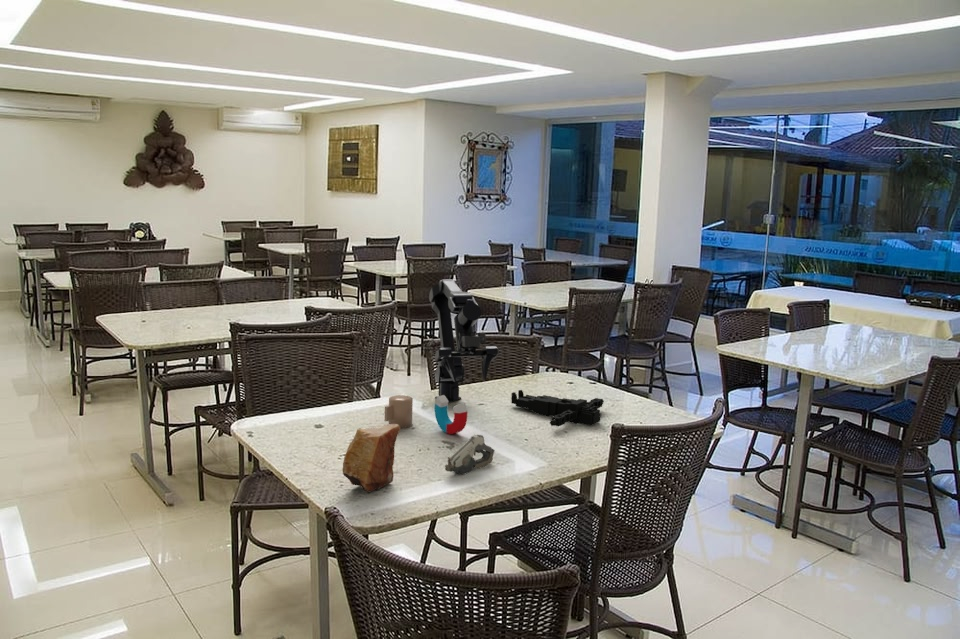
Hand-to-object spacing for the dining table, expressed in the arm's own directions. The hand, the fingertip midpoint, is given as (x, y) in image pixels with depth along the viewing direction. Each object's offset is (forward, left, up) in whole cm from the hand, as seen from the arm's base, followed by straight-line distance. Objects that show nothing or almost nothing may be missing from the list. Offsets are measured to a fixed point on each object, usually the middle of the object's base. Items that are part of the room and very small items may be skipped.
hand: (470, 381), depth 218 cm
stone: (+17, -51, -13) cm, 55 cm away
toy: (+12, +27, -14) cm, 33 cm away
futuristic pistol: (+25, -26, -14) cm, 38 cm away
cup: (-13, -17, -13) cm, 25 cm away
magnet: (+2, -10, -13) cm, 17 cm away
